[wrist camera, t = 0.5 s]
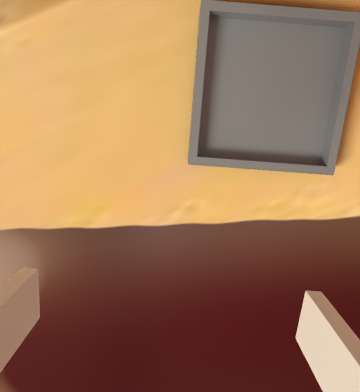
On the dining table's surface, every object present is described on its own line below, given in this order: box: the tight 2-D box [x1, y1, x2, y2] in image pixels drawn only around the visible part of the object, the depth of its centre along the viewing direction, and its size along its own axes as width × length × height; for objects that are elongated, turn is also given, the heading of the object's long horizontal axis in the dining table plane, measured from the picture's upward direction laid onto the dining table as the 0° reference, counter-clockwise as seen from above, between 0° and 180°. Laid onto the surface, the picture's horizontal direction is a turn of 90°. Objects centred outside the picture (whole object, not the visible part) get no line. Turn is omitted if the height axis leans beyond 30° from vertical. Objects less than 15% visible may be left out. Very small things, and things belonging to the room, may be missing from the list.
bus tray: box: [188, 0, 360, 175], centre depth 36 cm, size 18×18×3 cm
